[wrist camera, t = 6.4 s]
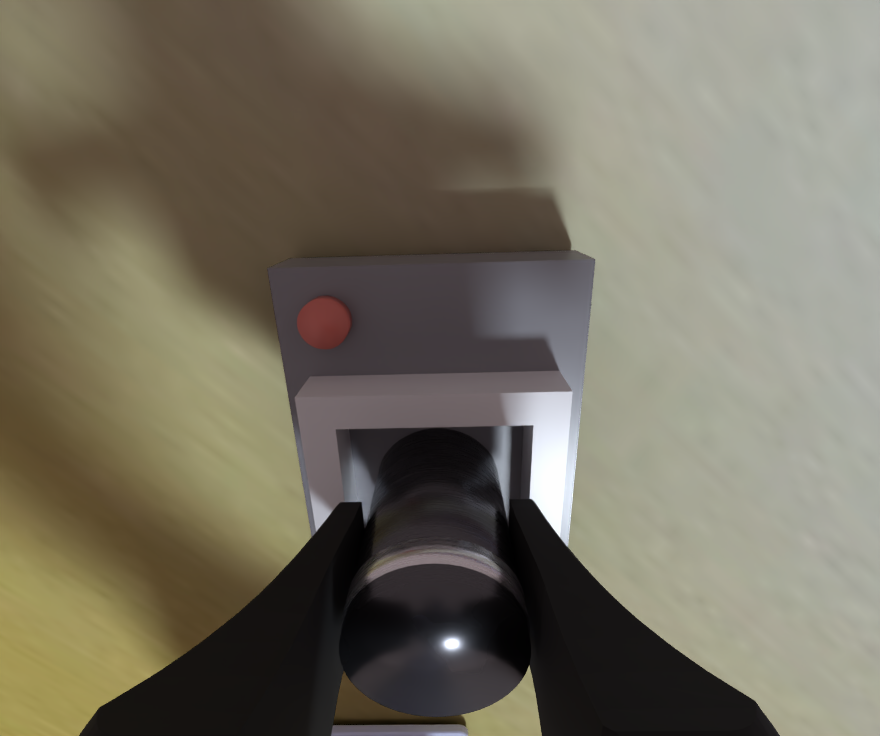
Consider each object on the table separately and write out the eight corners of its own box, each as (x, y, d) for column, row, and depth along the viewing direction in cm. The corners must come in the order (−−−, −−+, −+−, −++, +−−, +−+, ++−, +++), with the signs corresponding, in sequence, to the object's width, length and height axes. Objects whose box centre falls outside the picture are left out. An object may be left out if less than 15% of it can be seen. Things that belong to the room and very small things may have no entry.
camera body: (548, 586, 19) (570, 667, 16) (338, 589, 19) (317, 670, 16) (575, 250, 14) (614, 268, 11) (290, 257, 14) (244, 277, 11)
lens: (488, 536, 16) (512, 726, 10) (371, 523, 16) (331, 708, 10) (510, 435, 14) (554, 591, 9) (382, 419, 14) (342, 568, 9)
